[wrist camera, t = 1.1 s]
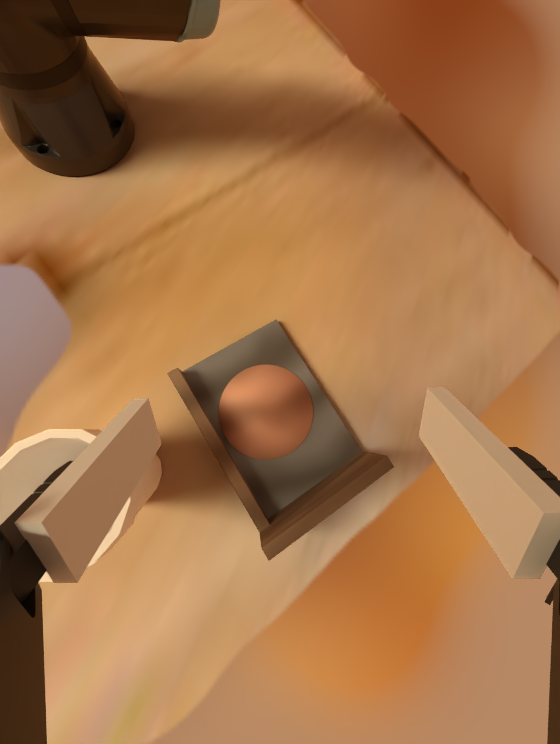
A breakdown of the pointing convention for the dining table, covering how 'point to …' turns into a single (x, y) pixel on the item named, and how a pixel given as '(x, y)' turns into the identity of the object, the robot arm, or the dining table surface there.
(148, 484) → the foam cup
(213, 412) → the wooden-edged grey tray
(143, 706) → the dining table surface
